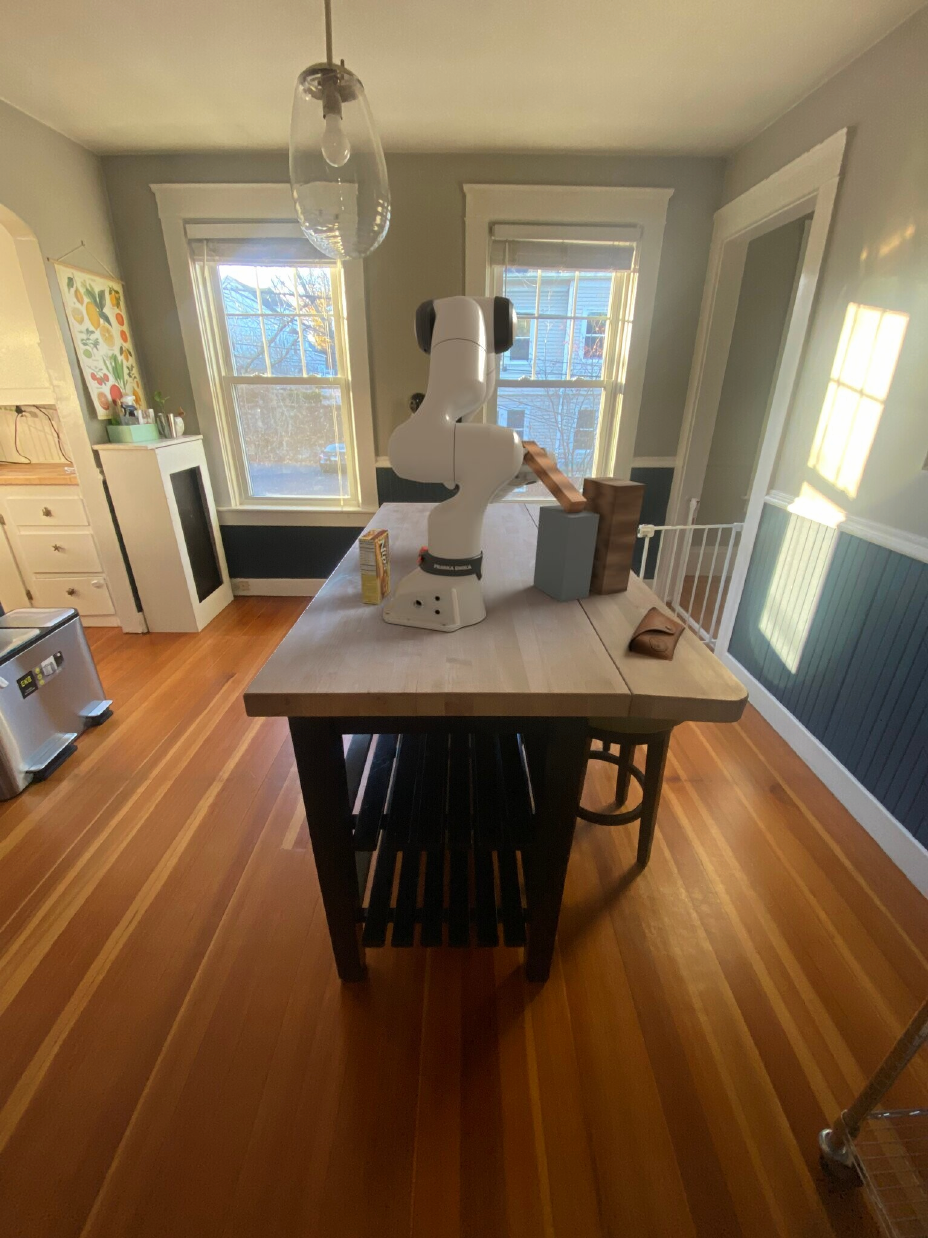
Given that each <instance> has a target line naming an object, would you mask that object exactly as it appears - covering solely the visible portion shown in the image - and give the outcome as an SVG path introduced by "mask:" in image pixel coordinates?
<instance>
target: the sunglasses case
mask: <svg viewBox="0 0 928 1238" xmlns="http://www.w3.org/2000/svg"><path fill="white" fill-rule="evenodd" d="M685 627H686V626H685V625H683V624H682V623H680V622H678V621H677V620H675V619H673V618H671V617H670V616H668V615H666V614H665V613H663V612H662V611H660V609H659V608H657V607H656V606H653V607H650V608H649V610H647V612H646V614H645V615H644V616H643V618H642V619H641V621H640V622H639V624H638V626H637V627H636V629H635V630H634V632H633V634H632V636H631V638H630V639H629V642H628V646H627V648H628V651H629V652H630V653H634V654H638V655H643V656H647V657H651V658H655V659H661V660H663V661H664V660H665V661H669V662H672V661H673V658H674V653H675V649H676V648H677V647H676V646H677V643H678V642H679V639H680V637H681V636H682V633H683V632H684V631H685V630H686V628H685ZM684 629H685V630H684Z"/></svg>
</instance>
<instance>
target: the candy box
mask: <svg viewBox="0 0 928 1238" xmlns="http://www.w3.org/2000/svg"><path fill="white" fill-rule="evenodd" d="M358 551H359V563H360V564H359V567H360V580H361V582H360V583H361V595H362V596H361V599H362V604H368V605H369V604H370V605H379V604H380V603H381V602H382V601H383V600H384V599H385V598H386V597H387V595H389V593H390V592H391V571H390V569H391V568H390V542H389V530H388V529H381V528H380V529H379V528H371V530H369V531H367V532H366V533H365V534H363V535H362V536H361V537H359V538H358Z"/></svg>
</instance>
